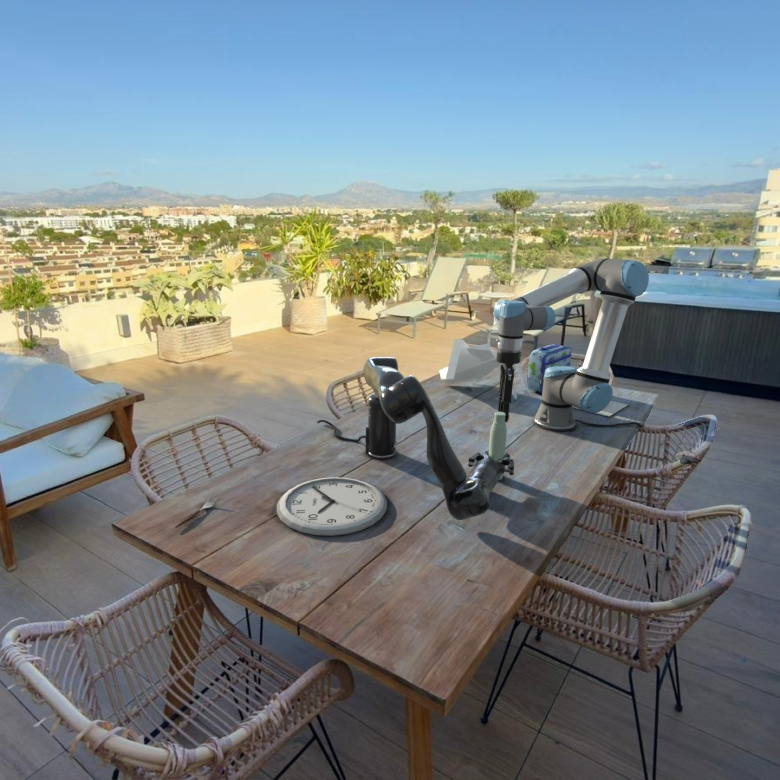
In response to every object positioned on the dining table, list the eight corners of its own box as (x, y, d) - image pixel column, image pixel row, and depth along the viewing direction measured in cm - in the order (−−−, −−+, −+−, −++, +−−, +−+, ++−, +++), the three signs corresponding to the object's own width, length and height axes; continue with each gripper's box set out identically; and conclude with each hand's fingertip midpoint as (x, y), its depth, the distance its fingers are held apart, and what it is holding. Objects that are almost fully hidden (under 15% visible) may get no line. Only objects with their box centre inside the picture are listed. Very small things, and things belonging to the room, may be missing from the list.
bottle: (503, 480, 158) (509, 416, 152) (487, 479, 159) (492, 415, 153) (501, 473, 163) (507, 411, 157) (486, 472, 163) (491, 410, 157)
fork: (171, 528, 130) (170, 521, 130) (212, 499, 145) (211, 492, 144) (179, 530, 129) (178, 523, 129) (220, 500, 144) (219, 494, 143)
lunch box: (543, 396, 238) (548, 352, 231) (522, 391, 245) (526, 347, 239) (570, 385, 255) (575, 343, 249) (550, 381, 262) (555, 340, 256)
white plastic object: (461, 429, 252) (437, 405, 227) (444, 352, 274) (420, 323, 250) (535, 404, 240) (518, 377, 215) (510, 326, 262) (492, 293, 237)
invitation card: (608, 416, 214) (573, 407, 224) (608, 416, 214) (573, 408, 224) (628, 404, 229) (594, 396, 238) (628, 405, 229) (594, 397, 238)
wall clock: (392, 527, 129) (268, 531, 127) (391, 533, 130) (269, 537, 127) (383, 473, 158) (282, 475, 155) (383, 478, 158) (282, 480, 156)
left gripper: (511, 469, 143) (522, 447, 157) (460, 459, 148) (476, 438, 163) (508, 494, 145) (520, 469, 160) (459, 483, 150) (474, 460, 165)
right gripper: (494, 343, 175) (488, 409, 182) (500, 355, 159) (493, 427, 166) (517, 344, 175) (510, 410, 182) (525, 356, 158) (517, 428, 165)
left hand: (498, 454), depth 161 cm, fingers closed on bottle, 4 cm apart
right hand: (502, 418), depth 174 cm, fingers closed on cap, 4 cm apart
